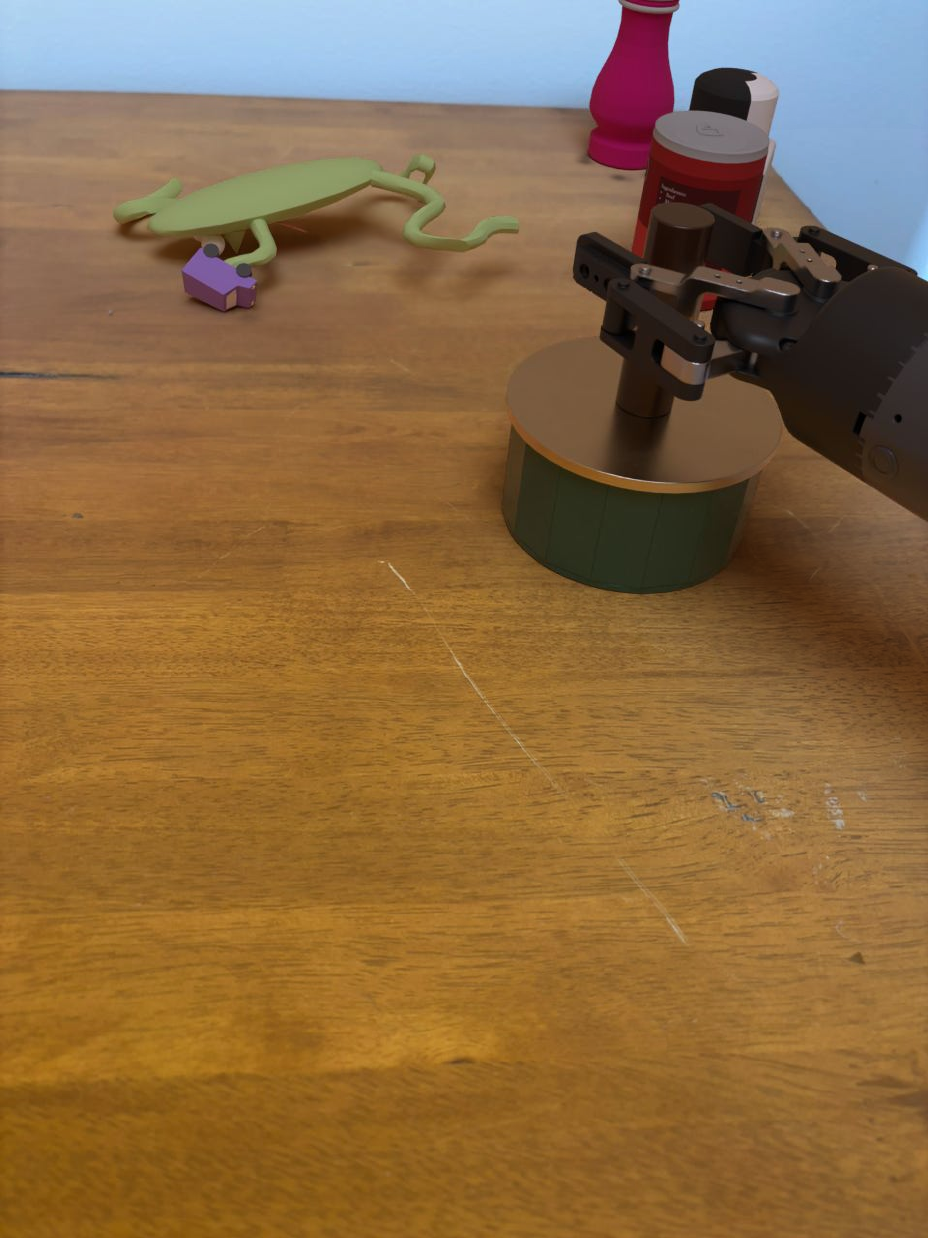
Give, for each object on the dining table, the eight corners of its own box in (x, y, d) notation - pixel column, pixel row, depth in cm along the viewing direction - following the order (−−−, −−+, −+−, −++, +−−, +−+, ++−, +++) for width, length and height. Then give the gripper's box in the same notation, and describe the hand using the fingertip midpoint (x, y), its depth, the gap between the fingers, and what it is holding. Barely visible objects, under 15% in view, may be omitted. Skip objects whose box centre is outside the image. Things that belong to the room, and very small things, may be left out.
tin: (627, 428, 68) (647, 329, 63) (787, 542, 60) (822, 439, 56) (455, 491, 62) (464, 387, 57) (611, 626, 54) (634, 518, 50)
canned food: (697, 258, 86) (731, 106, 79) (753, 307, 81) (795, 149, 74) (606, 267, 84) (633, 111, 76) (658, 318, 78) (692, 156, 71)
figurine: (529, 304, 79) (538, 224, 75) (127, 327, 72) (116, 242, 68) (457, 196, 92) (463, 124, 88) (112, 208, 85) (102, 130, 81)
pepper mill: (622, 136, 105) (664, -120, 92) (680, 162, 101) (733, -100, 88) (565, 149, 101) (601, -115, 88) (623, 178, 97) (669, -95, 84)
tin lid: (645, 333, 64) (684, 139, 57) (833, 451, 57) (904, 244, 49) (450, 395, 58) (466, 184, 51) (631, 538, 50) (681, 314, 43)
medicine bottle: (649, 246, 87) (680, 80, 79) (667, 212, 92) (698, 53, 84) (741, 265, 86) (783, 98, 78) (754, 230, 91) (795, 70, 83)
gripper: (1083, 274, 44) (765, 131, 54) (844, 364, 37) (527, 183, 47) (1007, 438, 49) (728, 281, 59) (784, 545, 42) (508, 348, 52)
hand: (640, 238), depth 53 cm, fingers open, 6 cm apart
